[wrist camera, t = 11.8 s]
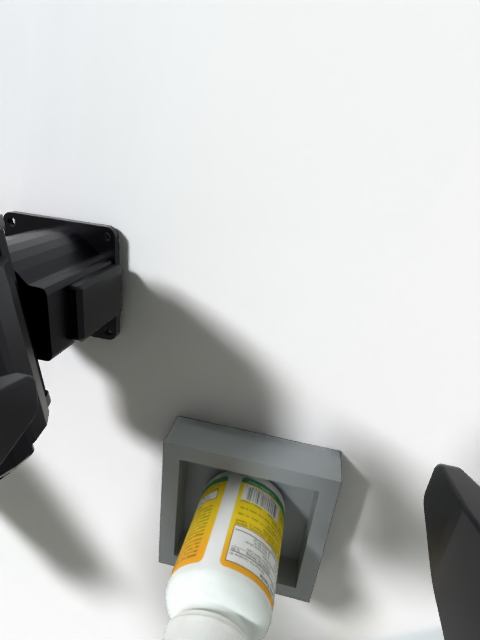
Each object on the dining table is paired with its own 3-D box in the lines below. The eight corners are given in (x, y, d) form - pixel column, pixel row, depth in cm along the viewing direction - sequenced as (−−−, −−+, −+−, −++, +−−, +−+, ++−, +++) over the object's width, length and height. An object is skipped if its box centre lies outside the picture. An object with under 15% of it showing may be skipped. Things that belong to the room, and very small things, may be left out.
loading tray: (171, 530, 29) (158, 561, 27) (178, 416, 25) (163, 441, 23) (310, 566, 28) (309, 602, 26) (340, 451, 24) (341, 482, 22)
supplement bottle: (282, 468, 24) (256, 642, 16) (289, 534, 26) (269, 722, 18) (197, 464, 26) (129, 624, 17) (209, 528, 28) (154, 700, 19)
